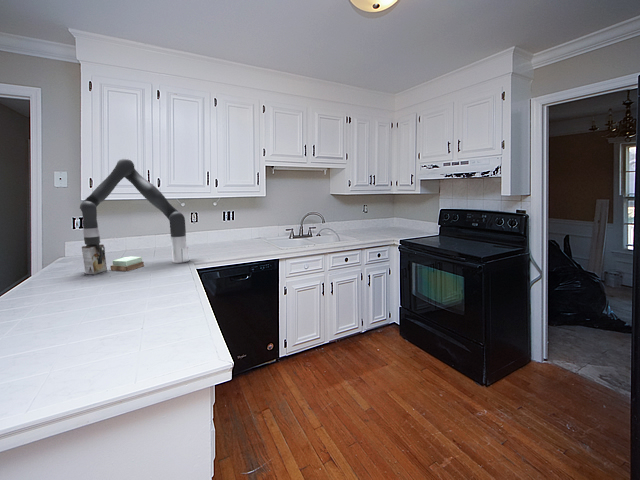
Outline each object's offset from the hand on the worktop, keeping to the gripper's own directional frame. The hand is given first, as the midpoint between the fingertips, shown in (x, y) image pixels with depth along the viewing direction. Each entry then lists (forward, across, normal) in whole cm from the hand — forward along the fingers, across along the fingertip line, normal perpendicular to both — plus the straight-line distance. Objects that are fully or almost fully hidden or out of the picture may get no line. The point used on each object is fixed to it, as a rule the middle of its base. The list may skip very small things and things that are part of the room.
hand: (95, 263), depth 189 cm
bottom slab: (+6, -11, -12) cm, 17 cm away
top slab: (+2, -11, -12) cm, 17 cm away
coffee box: (+5, 0, 0) cm, 5 cm away
